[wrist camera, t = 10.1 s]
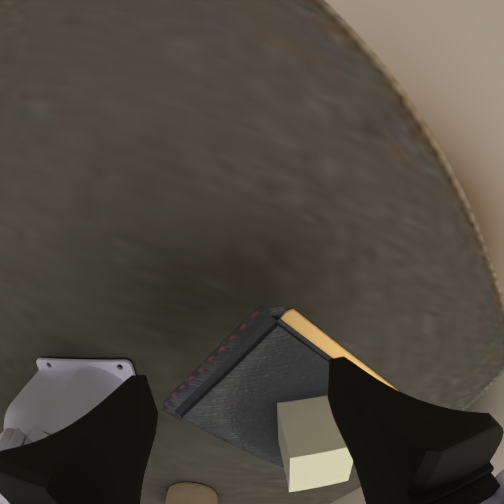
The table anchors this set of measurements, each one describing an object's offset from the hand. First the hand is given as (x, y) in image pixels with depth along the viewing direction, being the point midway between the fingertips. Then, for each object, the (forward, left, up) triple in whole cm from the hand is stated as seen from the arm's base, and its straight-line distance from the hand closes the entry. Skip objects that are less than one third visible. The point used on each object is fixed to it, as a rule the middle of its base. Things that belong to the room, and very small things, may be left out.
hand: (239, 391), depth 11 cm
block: (+5, -11, -9) cm, 15 cm away
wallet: (+4, -11, -12) cm, 17 cm away
